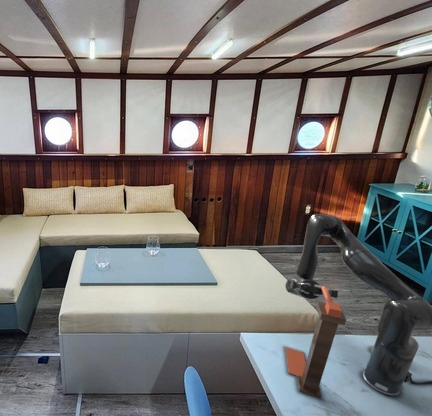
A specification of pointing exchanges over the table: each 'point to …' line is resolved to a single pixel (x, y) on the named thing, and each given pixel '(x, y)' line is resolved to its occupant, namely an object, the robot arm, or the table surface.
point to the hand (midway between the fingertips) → (318, 290)
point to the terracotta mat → (295, 362)
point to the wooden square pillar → (319, 351)
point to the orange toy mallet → (331, 304)
